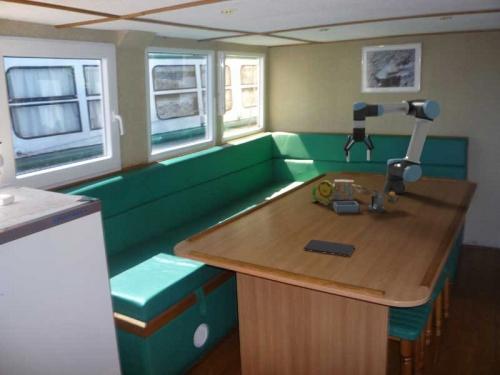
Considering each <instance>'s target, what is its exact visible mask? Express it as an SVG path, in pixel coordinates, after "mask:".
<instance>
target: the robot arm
mask: <svg viewBox="0 0 500 375" xmlns="http://www.w3.org/2000/svg"><path fill="white" fill-rule="evenodd" d="M352 113H353V114H352V115H353V116H352V117H353V118H352V135H347V139H346V140H345V143H344V146H343V147H342V150H343V151H344V152H345V153H344V154H345V157H346V162H347V163H350V155H351V154H350V151H349V150H351V148H352V147H353V146H354V144H356V143H363V145H365V147H366V148H367V150H366V161H371V155H372V150H374V149H375V146H374V143H373V142H372V139H371V134H366V120H367V119H366V118H375V117H376V118H378V117H382V116H383V115H402V116H412V117H414V120H415V124H414V128H413V131H412V134H411V138H410V141H409V144H408V148H407V152H406V155H405V157H403V158H390V159H389V158H388V160H387V163H386V178H385V179H386V181H385V182H384V186H383V190H382V192H387V193H390V192H394V193H395V194H396V195H401V194H402V195H403V194H406V193H407V187H406V184H405V182H410V183H414V182H416V181H418V180H419V179H420V177H421V176H422V172H423V171H422V168H421V161H420V158H421V155H422V152H423V148H424V144H425V141H426V139H427V135H428V131H429V128H430V126H431V124H433V123H434V120H435V119H437V118H438V117H439V115H440V113H441V105H440V104H439V102H438V101H436V100H433V99H430V98H429V99H422V98H421V99H420V98H419V99H418V98H416V99H411V100H402V102H401V101H399V102H375V103H373V102H372V103H371V102H370V103H367V102H366V101H356V102H353V108H352ZM366 139H367V140H366Z"/></svg>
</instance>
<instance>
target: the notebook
mask: <svg viewBox="0 0 500 375" xmlns="http://www.w3.org/2000/svg"><path fill="white" fill-rule="evenodd" d="M355 246H356V245H354V244H348V243H340V242H335V241H334V242H333V241H326V240H318V239H311V240H310V241H309V242H307V244H306V245H305V246H304V247H303V250H304V249H305V250H304V251H306V250H312V251H311V252H313V251H319V252H318V253H320V252H326V253H325V254H327V253H334V254H341V255H346V256H345V257H347V256H349V257H350V255H351V254H352V252H353V251H354V249H355ZM353 248H354V249H353ZM352 250H353V251H352ZM351 251H352V252H351ZM350 253H351V254H350ZM334 254H333V255H334ZM349 254H350V255H349Z"/></svg>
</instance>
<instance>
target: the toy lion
mask: <svg viewBox="0 0 500 375" xmlns="http://www.w3.org/2000/svg"><path fill="white" fill-rule="evenodd" d="M333 184H334V183H332V182H331V181H329V180H326V179H325V180H321V181H320V182H319V183H318V185H315V186H314V187H313V188H312V190H311V197H310V201H311V203H315V202H318V201H321V202H322V203H323V205H324V206H328V205H331V204H333V199H331V198H330V197H331V196H332V195H333V194H334V186H333ZM316 190H318V192H319V194H316Z"/></svg>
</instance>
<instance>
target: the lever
mask: <svg viewBox="0 0 500 375" xmlns="http://www.w3.org/2000/svg"><path fill="white" fill-rule="evenodd" d="M352 185H353V188H354V190H355V191H356V192H357V193H359V194H361V195H366V196H371V197H372V196H374V197H377V193H383V200H386V202H387V203H388V204H393V205H396V204H397V202H399V200H400V196H399V195H398V194H395V196H392V195H389V193H387V192H384V191H383V190H382V191H381V190H379V189H373V188H368V187H364V186H361V185H358V184H355V183H354V184H352Z"/></svg>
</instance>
